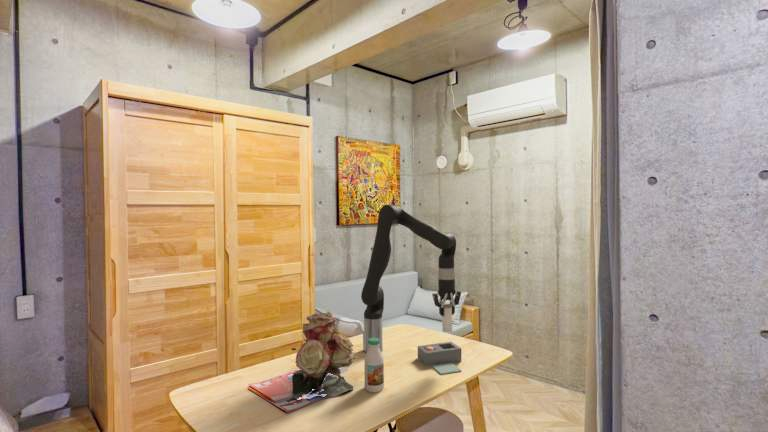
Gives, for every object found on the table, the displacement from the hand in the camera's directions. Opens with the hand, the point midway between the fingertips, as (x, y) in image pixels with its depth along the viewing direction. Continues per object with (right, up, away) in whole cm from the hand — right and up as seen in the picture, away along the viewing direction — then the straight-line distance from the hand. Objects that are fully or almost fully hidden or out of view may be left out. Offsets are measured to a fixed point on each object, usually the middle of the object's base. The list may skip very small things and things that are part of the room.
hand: (447, 314), depth 182 cm
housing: (-2, -23, +8) cm, 25 cm away
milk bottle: (-33, -25, -21) cm, 46 cm away
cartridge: (0, -7, 0) cm, 7 cm away
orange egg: (-7, -23, +7) cm, 25 cm away
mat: (-1, -24, -3) cm, 24 cm away
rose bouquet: (-53, -25, -18) cm, 61 cm away
